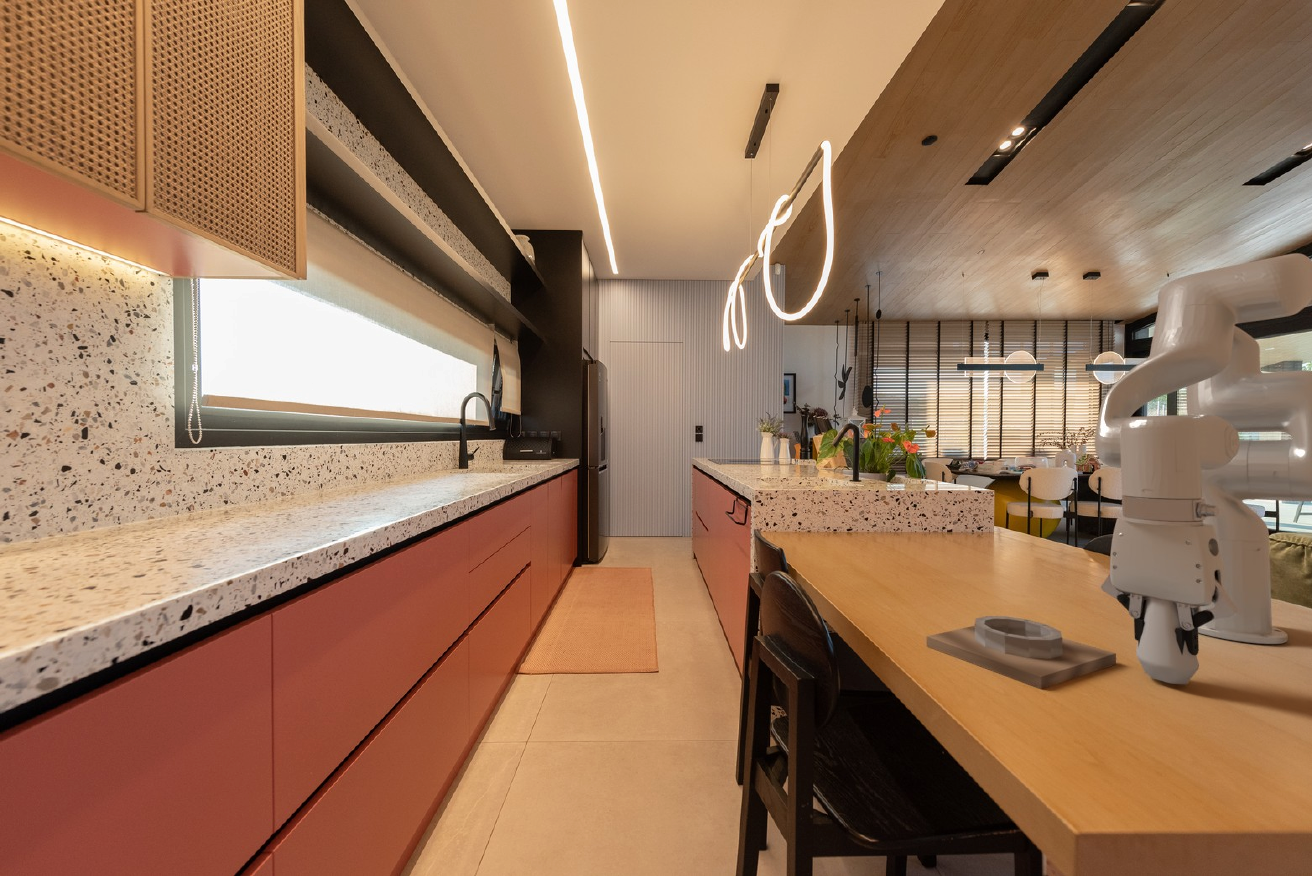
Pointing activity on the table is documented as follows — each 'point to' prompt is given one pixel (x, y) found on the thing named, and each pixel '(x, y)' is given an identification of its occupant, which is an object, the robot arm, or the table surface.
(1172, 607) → the salt shaker
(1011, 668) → the collar board
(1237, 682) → the table surface
